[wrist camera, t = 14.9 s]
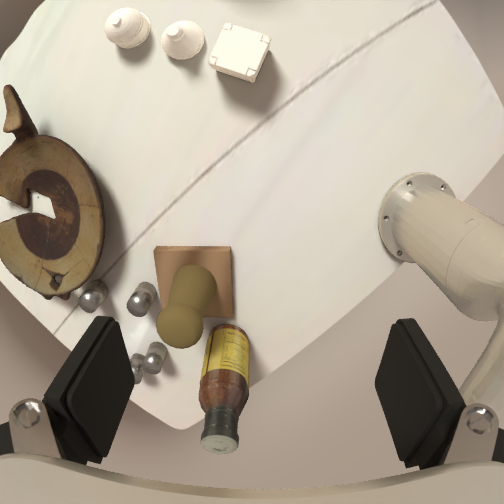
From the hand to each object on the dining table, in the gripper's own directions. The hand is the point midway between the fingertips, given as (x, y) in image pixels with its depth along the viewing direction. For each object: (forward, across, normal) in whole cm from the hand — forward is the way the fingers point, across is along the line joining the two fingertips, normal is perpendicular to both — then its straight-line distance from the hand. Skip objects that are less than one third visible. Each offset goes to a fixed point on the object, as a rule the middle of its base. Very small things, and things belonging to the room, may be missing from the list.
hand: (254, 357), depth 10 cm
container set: (+31, +9, -18) cm, 37 cm away
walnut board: (+30, +8, +14) cm, 34 cm away
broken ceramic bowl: (+31, +29, 0) cm, 42 cm away
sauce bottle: (+31, +4, +23) cm, 39 cm away
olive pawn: (+29, +8, +13) cm, 33 cm away
